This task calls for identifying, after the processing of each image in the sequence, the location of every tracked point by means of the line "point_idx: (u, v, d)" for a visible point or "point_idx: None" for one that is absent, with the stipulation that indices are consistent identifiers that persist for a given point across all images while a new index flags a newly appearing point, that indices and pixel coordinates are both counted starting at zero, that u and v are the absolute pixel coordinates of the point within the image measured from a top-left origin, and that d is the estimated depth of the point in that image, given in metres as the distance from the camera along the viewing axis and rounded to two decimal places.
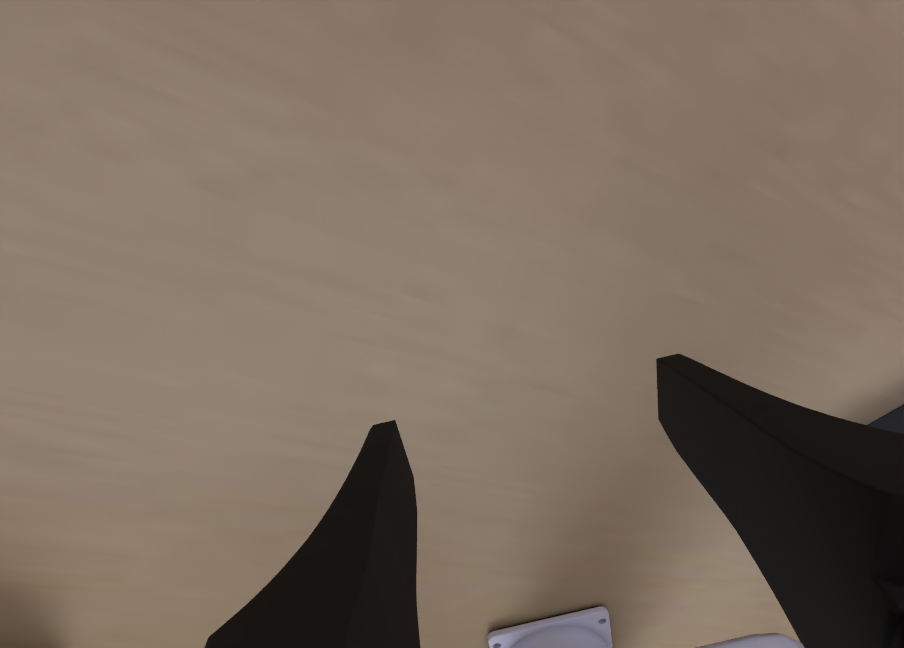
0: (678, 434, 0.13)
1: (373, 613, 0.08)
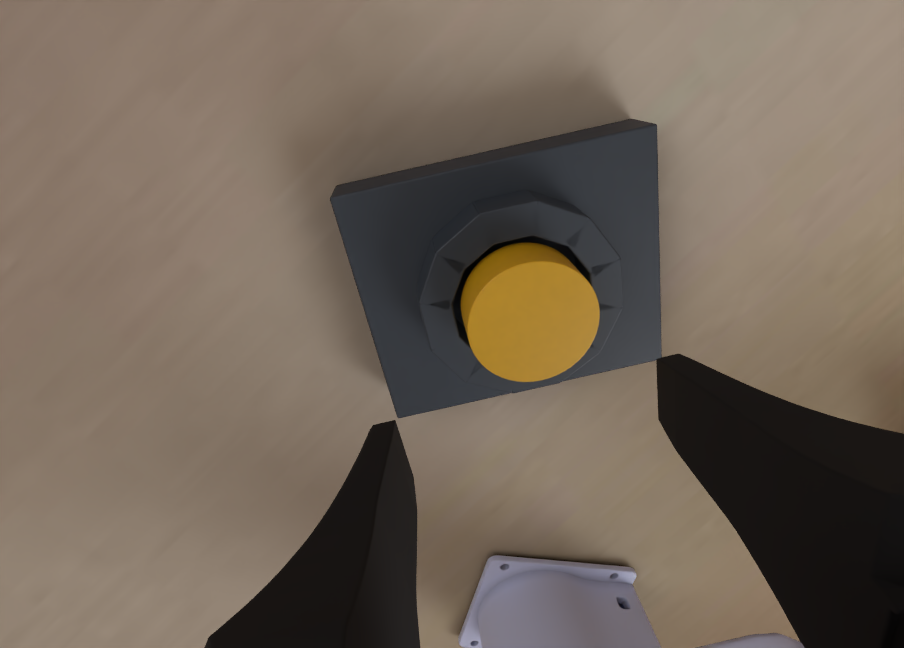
0: (678, 434, 0.13)
1: (373, 613, 0.08)
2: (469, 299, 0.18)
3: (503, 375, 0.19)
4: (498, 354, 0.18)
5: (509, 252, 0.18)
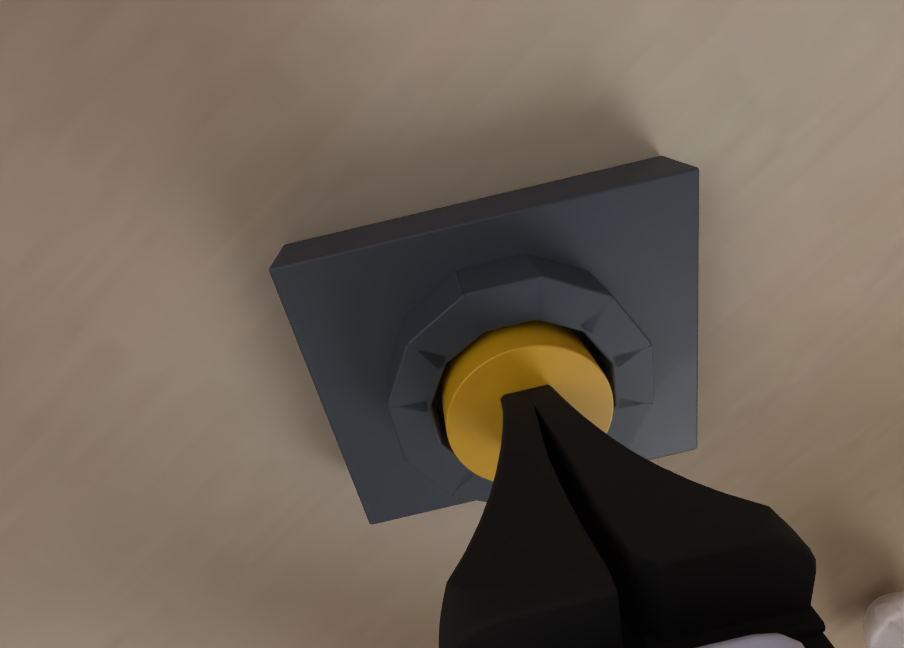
0: None
1: None
2: (448, 388, 0.14)
3: (493, 477, 0.15)
4: (486, 454, 0.14)
5: (499, 328, 0.14)
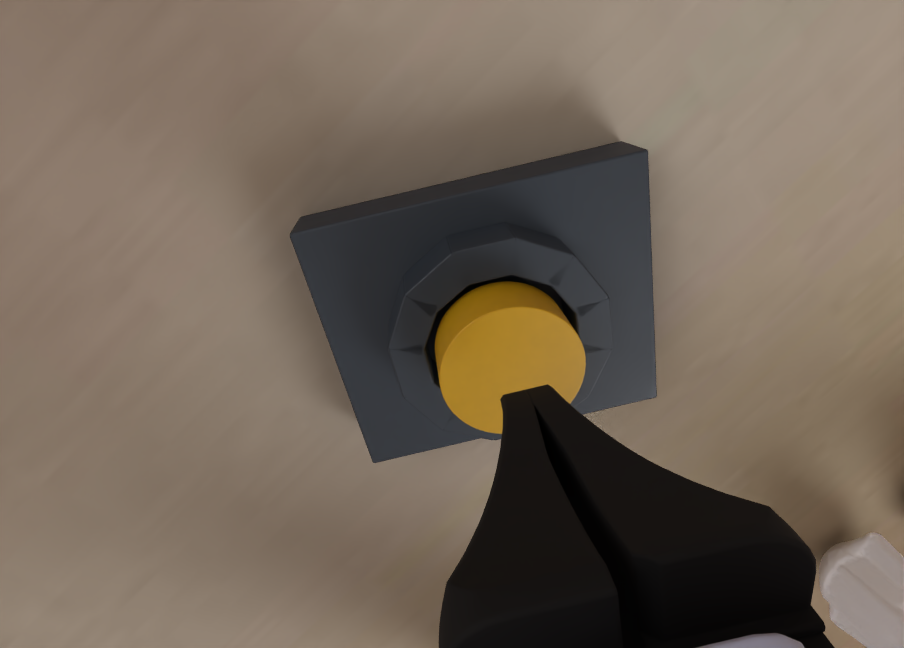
0: None
1: None
2: (441, 346, 0.16)
3: (481, 427, 0.17)
4: (474, 405, 0.16)
5: (485, 294, 0.16)
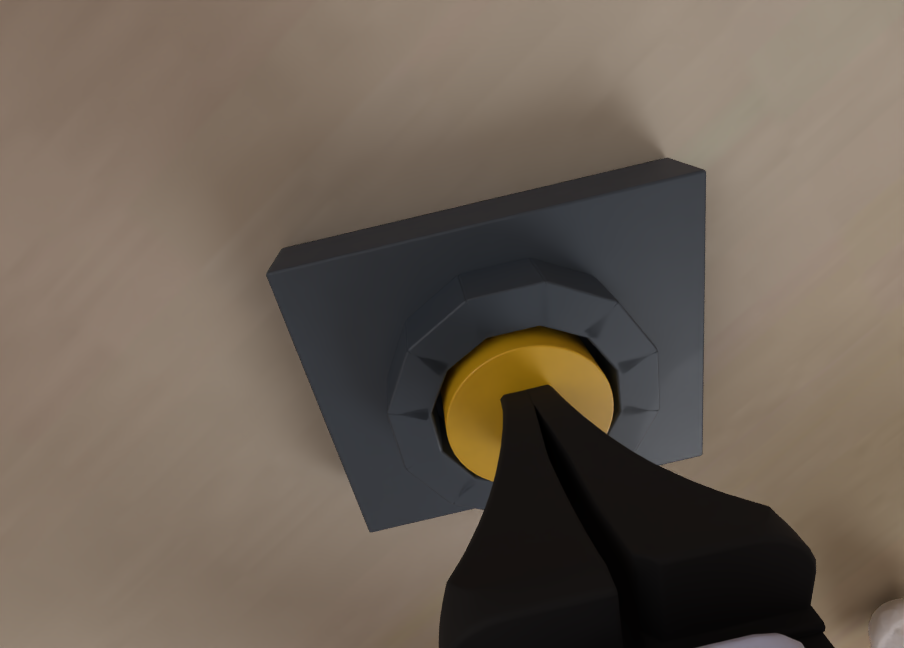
0: None
1: None
2: (448, 388, 0.14)
3: (493, 478, 0.15)
4: (486, 454, 0.14)
5: None
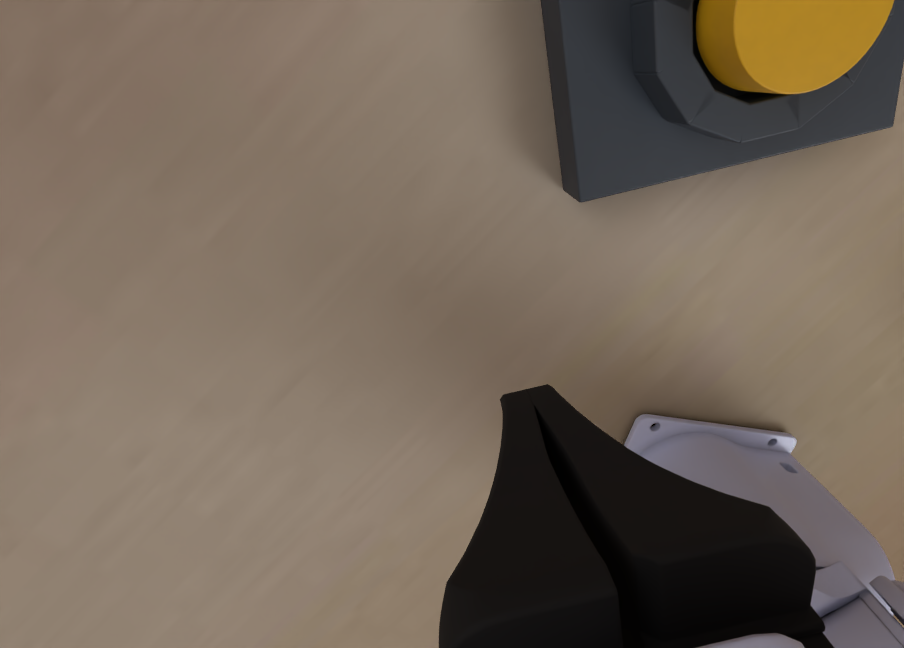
0: None
1: None
2: None
3: (764, 80, 0.15)
4: (764, 46, 0.15)
5: None
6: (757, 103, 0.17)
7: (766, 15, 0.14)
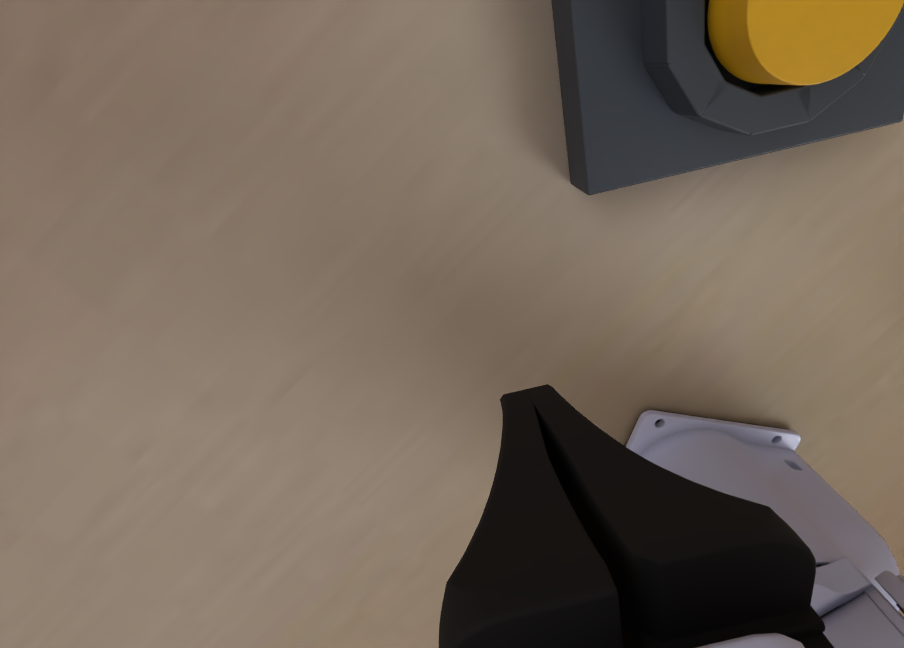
0: None
1: None
2: None
3: (776, 71, 0.15)
4: (778, 37, 0.14)
5: None
6: (767, 95, 0.17)
7: (779, 5, 0.14)
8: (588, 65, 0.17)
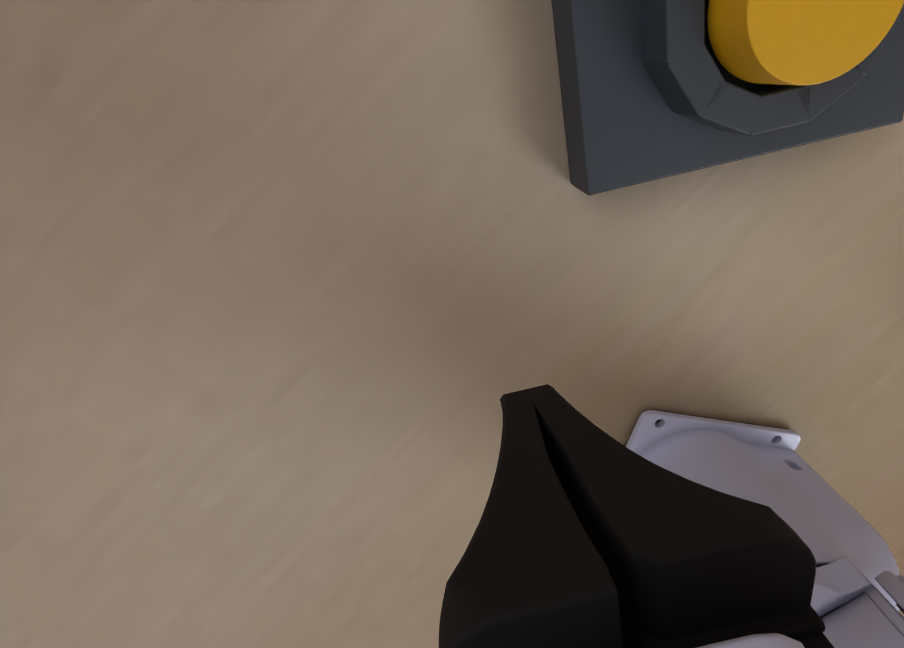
0: None
1: None
2: None
3: (776, 71, 0.15)
4: (778, 37, 0.14)
5: None
6: (767, 95, 0.17)
7: (779, 5, 0.14)
8: (588, 65, 0.17)
